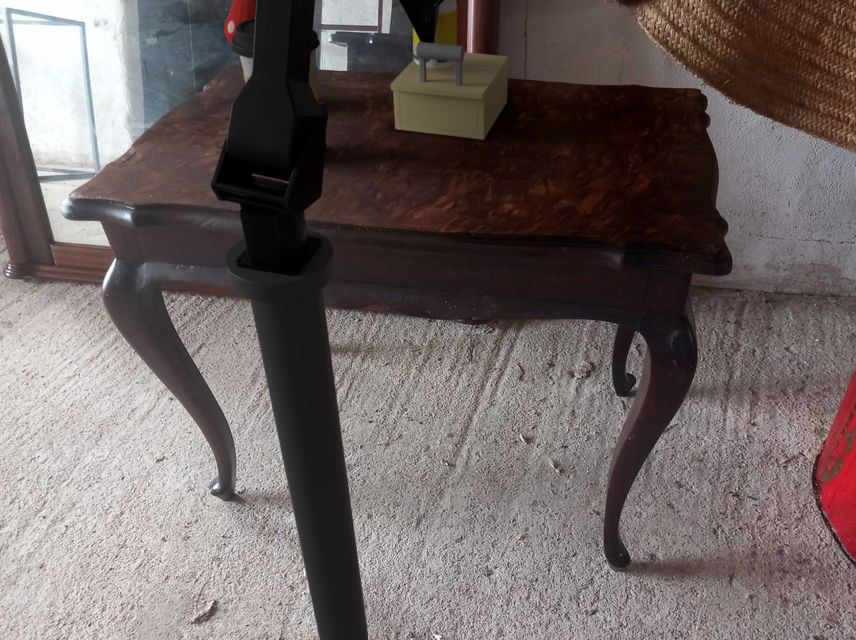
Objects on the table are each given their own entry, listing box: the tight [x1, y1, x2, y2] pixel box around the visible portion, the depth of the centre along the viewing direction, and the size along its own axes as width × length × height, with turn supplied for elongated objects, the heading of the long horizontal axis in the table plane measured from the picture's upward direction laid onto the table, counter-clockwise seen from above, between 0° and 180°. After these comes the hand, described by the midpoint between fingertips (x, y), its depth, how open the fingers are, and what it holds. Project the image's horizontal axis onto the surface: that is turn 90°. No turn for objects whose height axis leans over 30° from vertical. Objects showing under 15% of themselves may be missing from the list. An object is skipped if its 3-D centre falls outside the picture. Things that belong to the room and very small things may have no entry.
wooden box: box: [392, 62, 509, 141], centre depth 102 cm, size 13×12×5 cm
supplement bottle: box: [412, 0, 458, 68], centre depth 97 cm, size 5×5×10 cm
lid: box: [390, 42, 509, 100], centre depth 99 cm, size 13×12×5 cm
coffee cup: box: [230, 17, 321, 102], centre depth 89 cm, size 9×9×15 cm
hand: (435, 42), depth 98 cm, fingers closed on supplement bottle, 5 cm apart
